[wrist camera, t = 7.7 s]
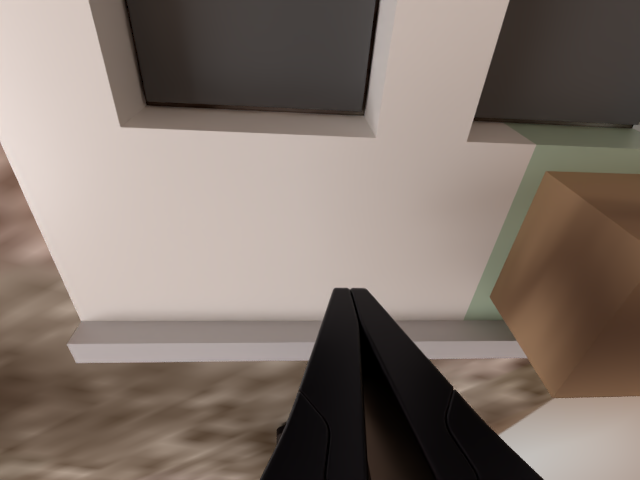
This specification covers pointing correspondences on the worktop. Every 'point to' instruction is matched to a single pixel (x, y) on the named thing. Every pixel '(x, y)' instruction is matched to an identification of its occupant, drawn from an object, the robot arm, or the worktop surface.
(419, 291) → the trap box
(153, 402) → the worktop surface
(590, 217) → the walnut block
